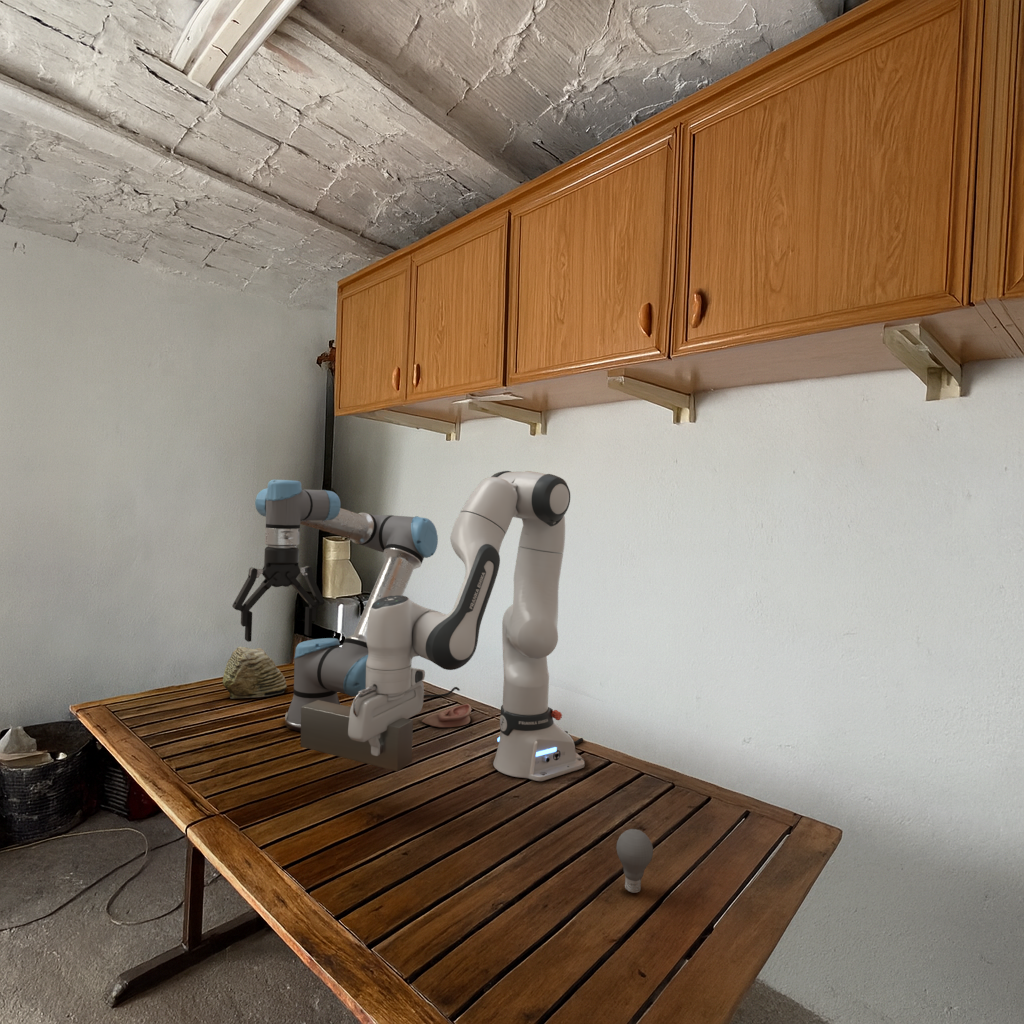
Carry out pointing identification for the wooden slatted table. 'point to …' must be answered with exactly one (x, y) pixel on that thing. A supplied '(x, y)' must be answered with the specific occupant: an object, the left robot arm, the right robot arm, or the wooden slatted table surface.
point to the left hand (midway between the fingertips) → (278, 637)
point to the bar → (330, 735)
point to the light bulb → (634, 857)
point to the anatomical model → (450, 717)
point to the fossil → (252, 674)
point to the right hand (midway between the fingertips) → (386, 748)
